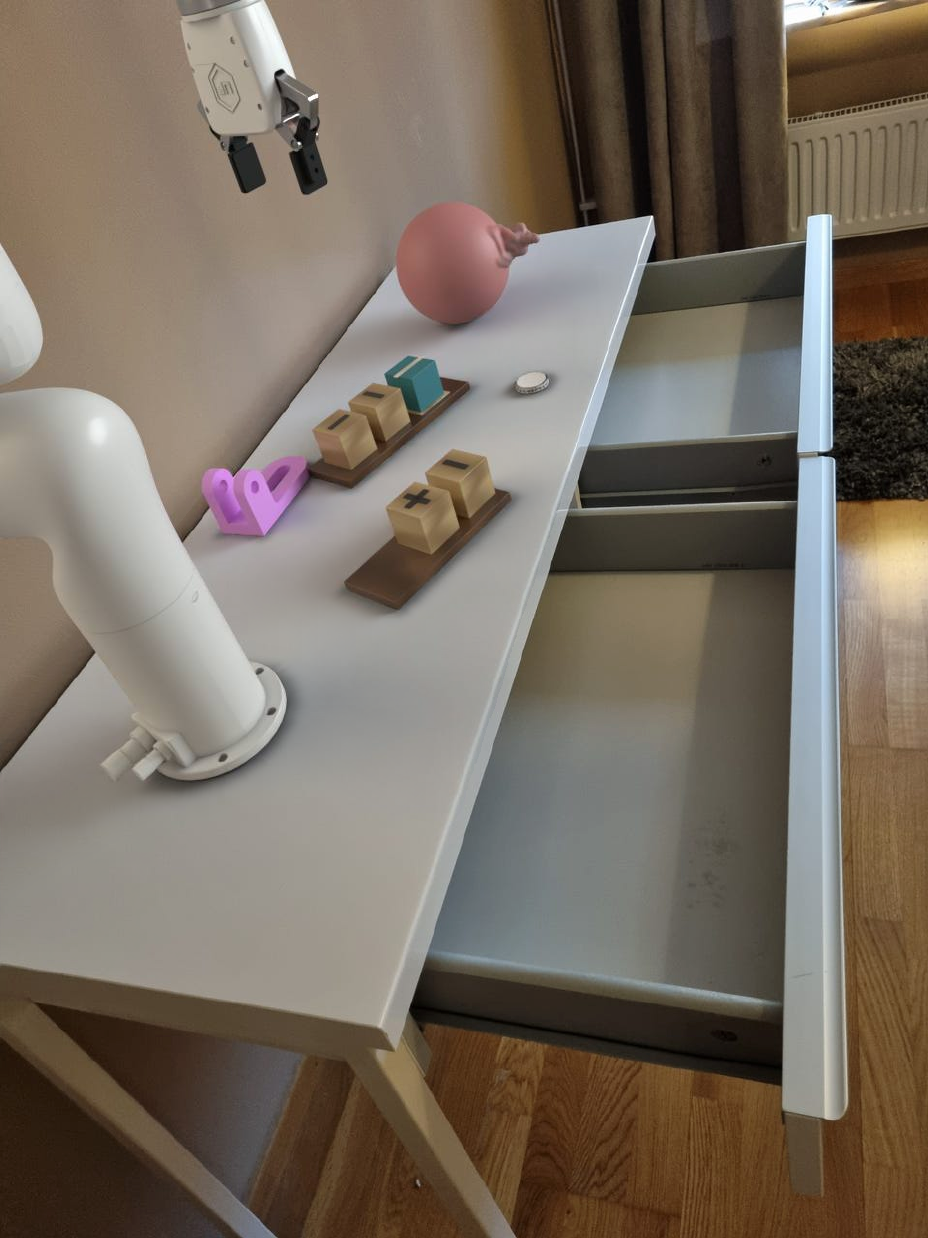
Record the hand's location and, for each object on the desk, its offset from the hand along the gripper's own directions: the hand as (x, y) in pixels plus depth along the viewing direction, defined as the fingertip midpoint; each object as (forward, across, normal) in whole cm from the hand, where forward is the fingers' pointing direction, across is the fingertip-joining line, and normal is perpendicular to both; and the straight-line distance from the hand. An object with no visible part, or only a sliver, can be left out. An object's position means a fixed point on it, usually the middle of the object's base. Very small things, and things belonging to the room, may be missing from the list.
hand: (284, 188), depth 91 cm
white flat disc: (+28, +16, +14) cm, 35 cm away
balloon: (+28, -3, +28) cm, 40 cm away
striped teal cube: (+27, +5, +6) cm, 28 cm away
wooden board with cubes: (+28, +24, -15) cm, 40 cm away
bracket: (+28, 0, -16) cm, 32 cm away
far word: (+28, +5, 0) cm, 28 cm away
